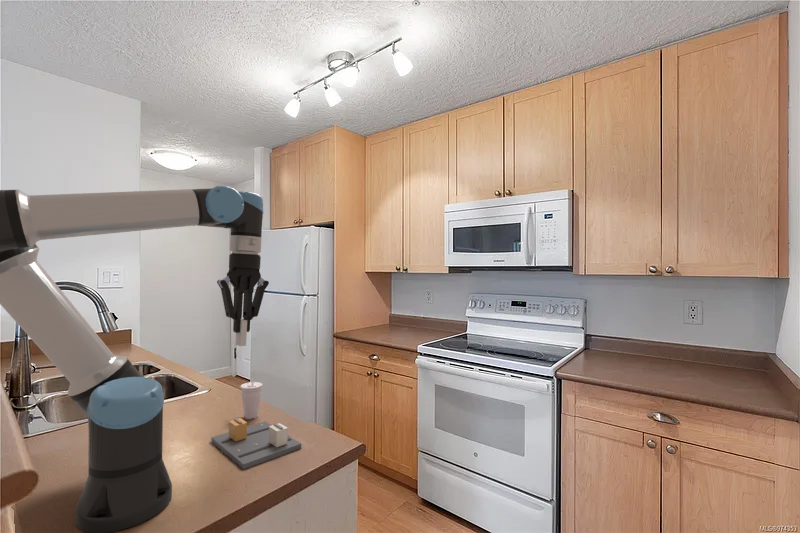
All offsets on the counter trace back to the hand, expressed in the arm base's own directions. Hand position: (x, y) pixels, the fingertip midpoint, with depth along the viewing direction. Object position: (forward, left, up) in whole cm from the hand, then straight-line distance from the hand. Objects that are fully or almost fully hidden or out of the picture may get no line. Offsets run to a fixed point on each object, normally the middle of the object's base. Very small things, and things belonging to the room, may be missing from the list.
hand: (240, 344), depth 102 cm
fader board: (+3, -3, -26) cm, 26 cm away
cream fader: (+6, -8, -24) cm, 27 cm away
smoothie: (+10, +16, -26) cm, 32 cm away
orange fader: (0, +2, -24) cm, 24 cm away
